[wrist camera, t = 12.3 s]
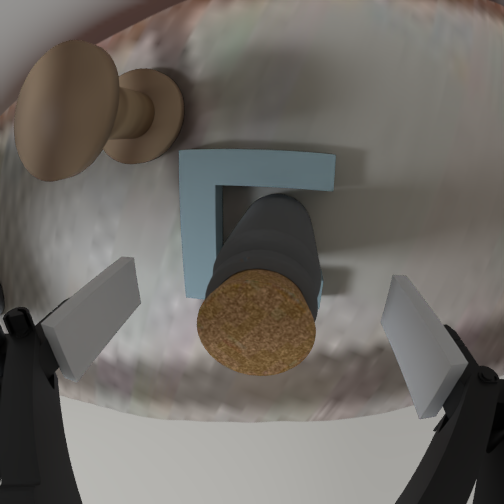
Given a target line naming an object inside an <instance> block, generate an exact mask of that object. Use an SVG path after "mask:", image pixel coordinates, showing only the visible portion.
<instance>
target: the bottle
mask: <svg viewBox="0 0 504 504" xmlns="http://www.w3.org/2000/svg"><path fill="white" fill-rule="evenodd" d="M320 287H321V269H320V264H319V258H318V253H317V248H316V242H315V237H314V233H313V228H312V224H311V220H310V217H309V215H308V212H307V211H306V209H305V208H304V206H303V205H302V204H301V203H300V202H298V201H297V200H296V199H294V198H292V197H290V196H287V195H282V194H271V195H267V196H264V197H262V198H260V199H258V200H257V201H255V202H254V203H253V204H252V205H251V206H250V208H249V209H248V210H247V212H246V213H245V214H244V216H243V217H242V219H241V220H240V221H239V223H238V224H237V226H236V227H235V229H234V230H233V232H232V233H231V234H230V236H229V237H228V239H227V240H226V242H225V244H224V245H223V247H222V248H221V250H220V252H219V254H218V255H217V257H216V260H215V263H214V266H213V276H212V278H211V279H210V282H209V284H208V286H207V289H206V293H205V300H204V302H203V304H202V305H201V307H200V309H199V313H198V317H197V331H198V335H199V337H200V340H201V342H202V344H203V346H204V348H205V349H206V350H207V351H208V353H209V354H210V355H211V356H212V357H213V358H214V359H216V360H217V361H218V362H219V363H221V364H222V365H224V366H226V367H227V368H229V369H231V370H234V371H237V372H239V373H244V374H248V375H256V376H268V375H275V374H279V373H282V372H285V371H287V370H289V369H292V368H293V367H295V366H297V365H298V364H299V363H301V362H302V361H303V360H304V359H305V358H306V357H307V355H308V354H309V352H310V351H311V349H312V347H313V344H314V341H315V335H316V327H315V323H314V322H315V320H316V317H317V311H318V299H317V298H318V295H319V292H320Z"/></svg>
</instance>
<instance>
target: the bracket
mask: <svg viewBox="0 0 504 504" xmlns="http://www.w3.org/2000/svg"><path fill="white" fill-rule="evenodd" d="M335 161H336V155H334V154H325V153H314V152H300V151H284V150H260V149H192V150H179V191H180V218H181V237H182V253H183V267H184V280H185V291H186V297H188V298H197V299H205V293H206V289H207V286H208V284H209V282H210V279H211V278H212V276H213V266H214V263H215V260H216V257H217V255H218V254H219V252H220V250H221V248H222V247H223V185H233V186H259V187H279V188H295V189H309V190H321V191H333V190H334V176H335ZM322 287H323V276H322V271H321V287H320V292H319V295H318V298H317V299H318V309H319V307H320V300H321V294H322Z"/></svg>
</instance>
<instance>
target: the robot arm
mask: <svg viewBox="0 0 504 504" xmlns="http://www.w3.org/2000/svg"><path fill="white" fill-rule="evenodd" d="M140 304H141V300H140V295H139V289H138V283H137V276H136V270H135V263H134V258H133V257H121V258H119V259H118V260H117V261H115V262H114V263H113V264H112V265H110V266H109V267H108V268H106V269H105V270H104V271H103V272H101V273H100V274H99V275H98V276H96V277H95V278H94V279H93V280H91V281H90V282H89V283H88V284H86V285H85V286H84V287H83V288H81V289H80V290H79V291H78V292H77V293H75V294H74V295H73V296H72V297H70V298H68V299H66V300H64V301H63V302H62V303H61V304H60V305H58V307H56V308H55V309H54V310H53V311H52V312H50V313H49V314H48V315H47V316H46V317H45V318H43V319H42V320H41V321H40V322H39V323H38V324H37V325H36V326H35V325H34V323H33V320H32V317H31V315H30V312H29V310H28V309H27V308H25V307H18V308H15V309H12V310H10V311H9V312H7V313H6V314H5V315H4V317H3V320H4V323H5V325H6V328H7V330H8V332H9V334H5V333H4V332H3V330H2V327H1V325H0V481H1V485H0V504H82V501H81V497H80V494H79V491H78V488H77V484H76V481H75V478H74V474H73V470H72V466H71V462H70V458H69V453H68V448H67V443H66V438H65V433H64V427H63V420H62V413H61V406H60V398H59V387H58V378H57V375H56V373H55V371H56V370H57V369H58V368H60V370H61V372H62V374H63V376H64V377H65V378H67V379H69V380H72V381H74V382H78V381H79V380H80V378H81V377H82V376H83V374H84V373H85V372H86V370H87V369H88V368H89V367H90V365H91V364H92V363H93V361H94V360H95V359H96V358H97V356H98V355H99V354H100V352H101V351H102V350H103V349H104V347H105V346H106V345H107V344H108V342H109V341H110V340H111V339H112V337H113V336H114V335H115V334H116V333H117V331H118V330H119V329H120V328H121V326H122V325H123V324H124V323H125V322H126V320H127V319H128V318H129V317H130V316H131V314H132V313H133V312H134V311H135V310H136V308H137V307H138V306H139V305H140ZM3 310H4V298H3V293H2V289H1V285H0V314H1V313H2V312H3ZM381 324H382V326H383V328H384V330H385V333H386V335H387V337H388V340H389V342H390V344H391V347H392V349H393V351H394V354H395V356H396V359H397V361H398V363H399V366H400V368H401V371H402V374H403V376H404V379H405V381H406V384H407V386H408V389H409V392H410V394H411V397H412V400H413V403H414V406H415V408H416V411H417V414H418V417H419V419H423V418H429V417H435V416H436V415H437V414H438V412H439V410H440V409H441V408H442V406H443V408H444V410H445V413H446V414H445V415H444V416H443V418H442V419H441V420H440V422H439V423H438V425H437V426H436V427H435V429H434V430H433V431H436V433H435V435H434V437H433V439H432V441H431V443H430V445H429V447H428V449H427V451H426V453H425V455H424V457H423V459H422V460H421V462H420V464H419V466H418V468H417V469H416V472H415V473H414V474H413V476H412V478H411V480H410V481H409V483H408V484H407V486H406V488H405V489H404V491H403V493H402V494H401V495H400V497H399V498H398V500H397V501H396V503H395V504H466V503H467V501H468V499H469V496H470V494H471V492H472V489H473V486H474V484H475V481H476V479H477V481H476V488H475V493H474V499H473V504H504V379H499V377H498V375H497V373H496V372H495V371H494V370H492V369H491V368H489V367H486V366H479V365H478V364H477V362H476V361H475V359H474V358H473V356H472V355H471V353H470V352H469V350H468V349H467V347H466V346H465V344H464V343H463V341H462V340H460V337H459V336H458V334H457V333H456V332H455V331H454V330H453V329H452V328H451V327H449V326H448V325H443V324H442V323H441V321H440V320H439V318H438V317H437V316H436V314H435V313H434V312H433V310H432V309H431V307H430V306H429V305H428V303H427V302H426V301H425V299H424V298H423V297H422V295H421V294H420V293H419V291H418V290H417V289H416V288H415V286H414V285H413V284H412V283H411V281H410V280H409V279H408V277H407V276H404V275H393V276H392V281H391V285H390V289H389V293H388V297H387V301H386V304H385V308H384V312H383V315H382V319H381Z"/></svg>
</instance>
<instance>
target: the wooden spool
mask: <svg viewBox="0 0 504 504" xmlns="http://www.w3.org/2000/svg"><path fill="white" fill-rule="evenodd" d="M183 119H184V101H183V97H182V94H181V91H180V89H179V87H178V86H177V85H176V83H175V82H174V81H173V80H172V79H171V78H169V77H168V76H166V75H164V74H162V73H160V72H158V71H156V70H153V69H135V70H132V71H129V72H127V73H124V74H123V75H121V76H120V77H119V76H118V72H117V68H116V66H115V63H114V61H113V60H112V58H111V56H110V55H109V54H108V53H107V52H106V51H105V50H104V49H102V48H101V47H99V46H96V45H94V44H91V43H88V42H85V41H81V40H70V41H66V42H63V43H61V44H58V45H57V46H55V47H53V48H52V49H50V50H49V51H48V52H47V53H45V54H44V55H43V56H42V57H41V58H40V59H39V61H38V62H37V63H36V64H35V65H34V67H33V68H32V70H31V71H30V73H29V75H28V76H27V78H26V80H25V82H24V84H23V86H22V89H21V91H20V94H19V97H18V101H17V105H16V110H15V118H14V136H15V143H16V148H17V151H18V155H19V157H20V159H21V161H22V163H23V165H24V167H25V168H26V169H27V171H28V172H29V173H30V174H31V175H33V176H34V177H36V178H37V179H40V180H42V181H47V182H51V181H57V180H61V179H65V178H69V177H73V176H75V175H78V174H79V173H81V172H82V171H84V170H85V169H86V168H88V167H89V166H90V165H91V164H92V163H93V162H94V161H95V159H96V158H97V157H98V155H99V154H100V153H101V151H102V150H104V151H105V152H106V153H107V154H108V155H109V156H110V157H111V158H113V159H114V160H116V161H118V162H121V163H125V164H137V163H143V162H148V161H151V160H153V159H155V158H157V157H159V156H161V155H162V154H163V153H164V152H166V151H167V150H168V149H169V148H170V147H171V145H172V144H173V143H174V141H175V140H176V138H177V136H178V134H179V132H180V130H181V127H182V124H183Z"/></svg>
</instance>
